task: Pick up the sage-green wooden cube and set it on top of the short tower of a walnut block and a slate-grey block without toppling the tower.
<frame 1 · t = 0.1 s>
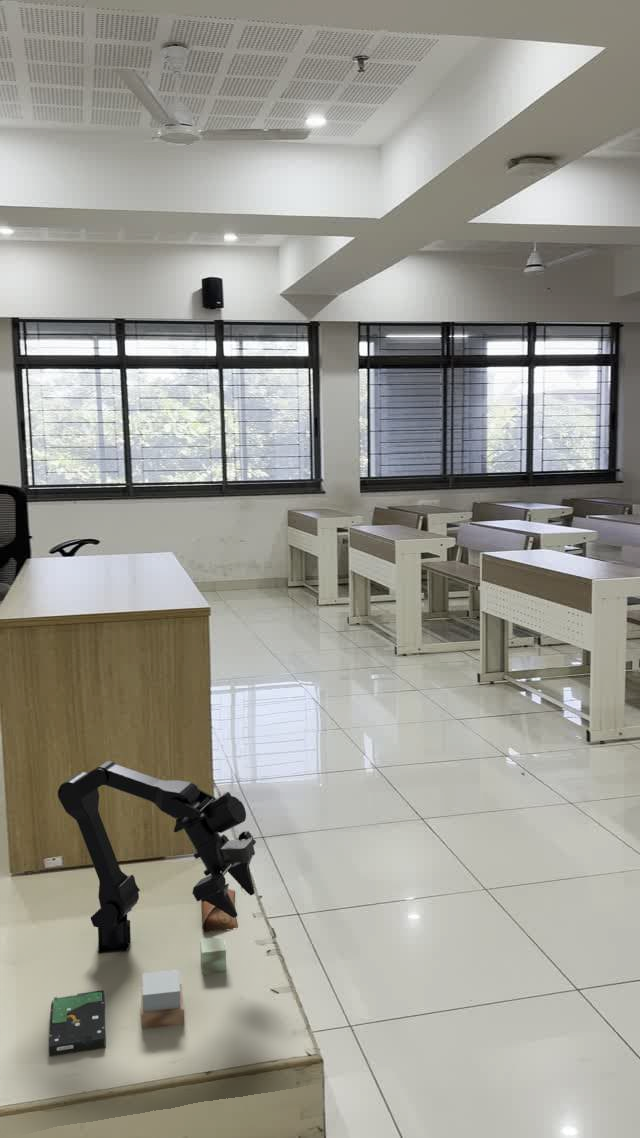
hand: (244, 905, 193), 15 cm above the table, tool tilted 30°, fingers open, 9 cm apart
sunglasses case: (219, 912, 219), on the table
tower top: (161, 998, 181), point 3 cm above the table, touching tower base
disk drive: (78, 1030, 178), on the table
green cube: (213, 966, 197), on the table
tower base: (162, 1015, 182), on the table, touching tower top
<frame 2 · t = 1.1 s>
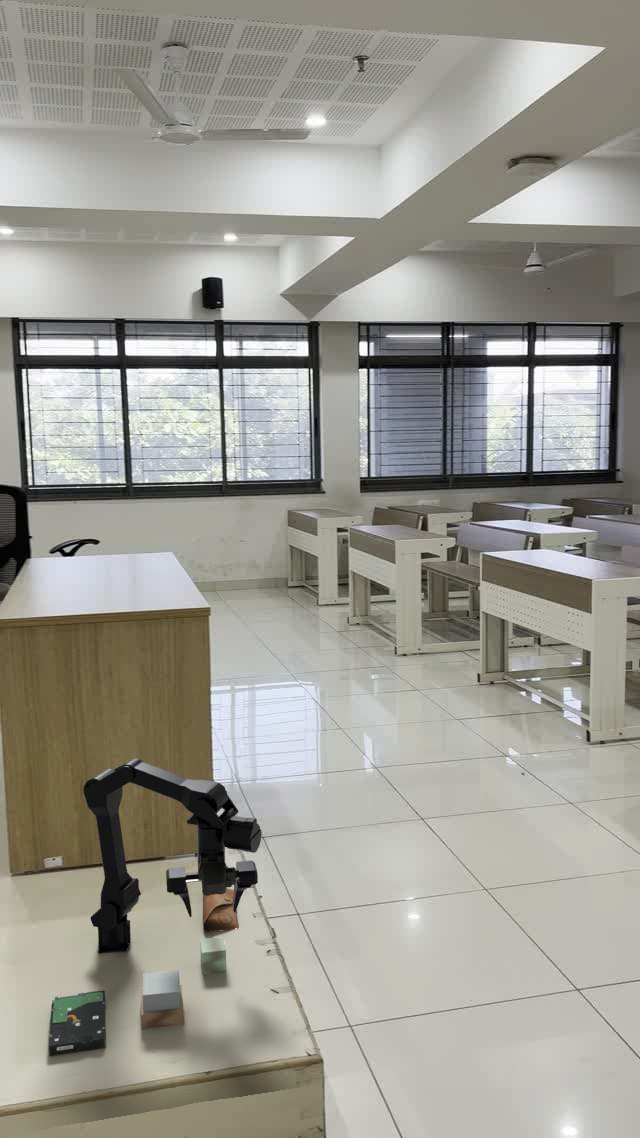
hand: (212, 913, 195), 12 cm above the table, tool pointing down, fingers open, 9 cm apart
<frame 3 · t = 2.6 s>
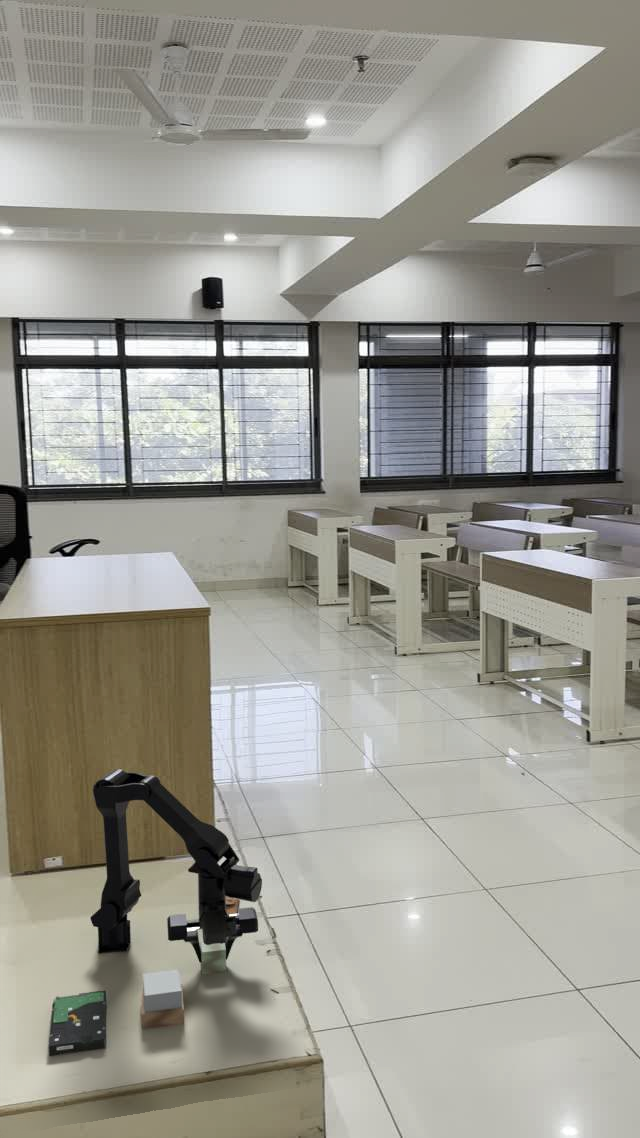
hand: (213, 960, 197), 1 cm above the table, tool pointing down, fingers closed on green cube, 5 cm apart
tower top: (162, 998, 181), point 3 cm above the table
green cube: (213, 965, 197), on the table, touching gripper
tower base: (162, 1015, 182), on the table
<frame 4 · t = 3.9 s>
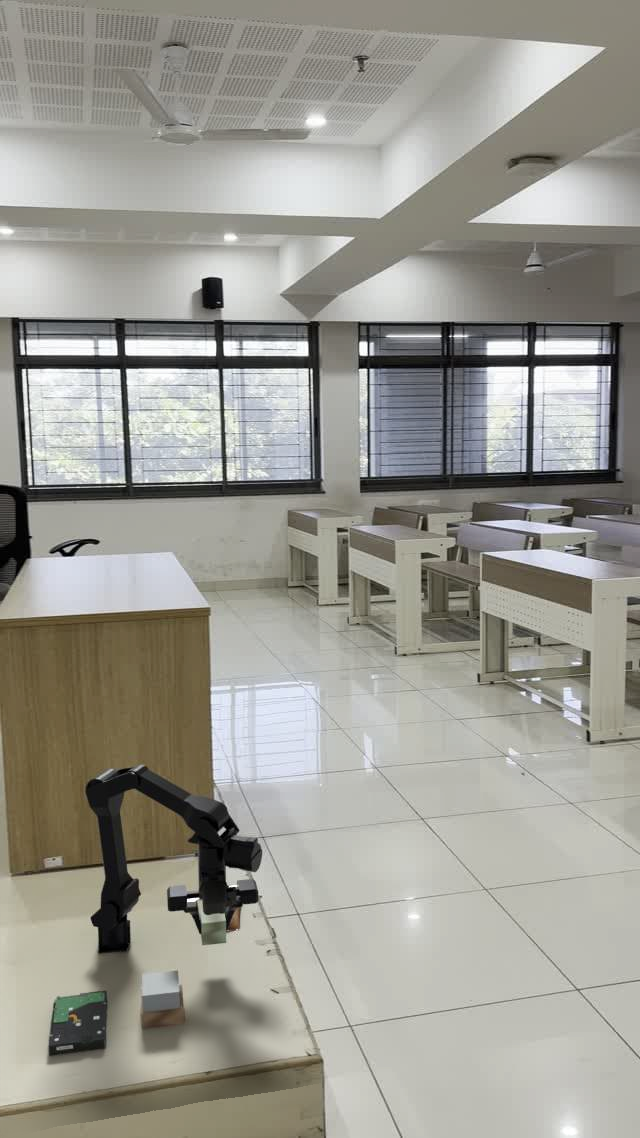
hand: (213, 932, 196), 8 cm above the table, tool pointing down, fingers closed on green cube, 5 cm apart
tower top: (161, 999, 181), point 3 cm above the table, touching tower base
green cube: (213, 937, 196), point 7 cm above the table, touching gripper
tower base: (162, 1015, 182), on the table, touching tower top
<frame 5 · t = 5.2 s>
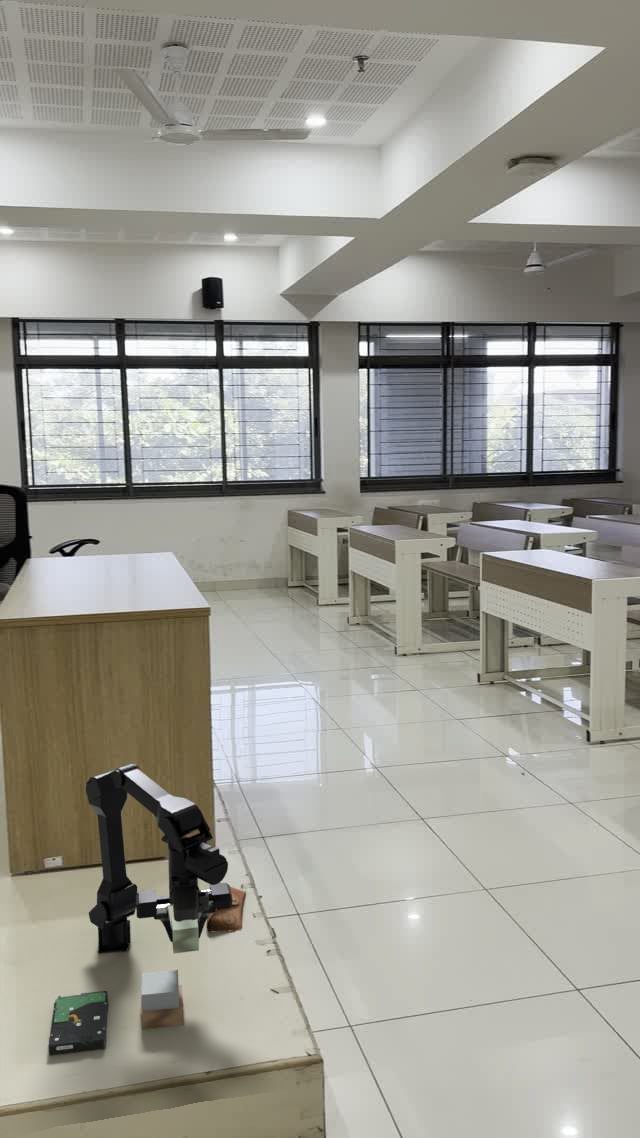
hand: (185, 939, 186), 12 cm above the table, tool pointing down, fingers closed on green cube, 5 cm apart
tower top: (160, 998, 181), point 3 cm above the table
green cube: (185, 945, 187), point 10 cm above the table, touching gripper
tower base: (162, 1015, 182), on the table
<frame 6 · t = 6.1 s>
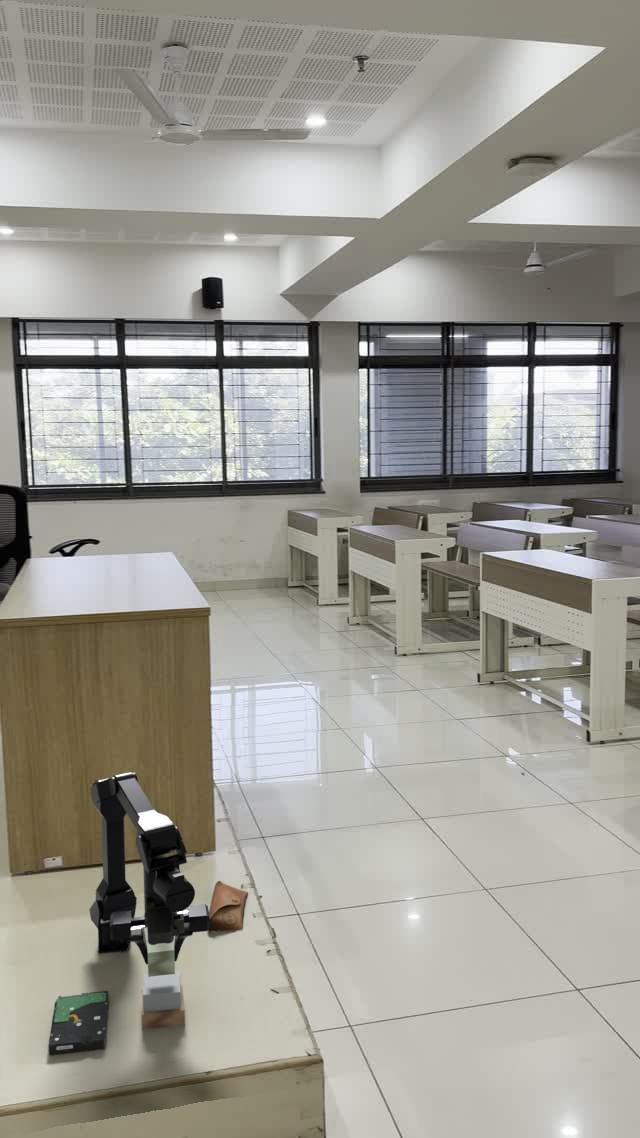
hand: (161, 961, 180), 11 cm above the table, tool pointing down, fingers closed on green cube, 5 cm apart
tower top: (162, 998, 181), point 3 cm above the table, touching tower base
green cube: (161, 967, 180), point 10 cm above the table, touching gripper
tower base: (163, 1015, 182), on the table, touching tower top
when the fingers open (9 cm above the table, at t = 6.7 s): green cube drops 2 cm, resting on tower top.
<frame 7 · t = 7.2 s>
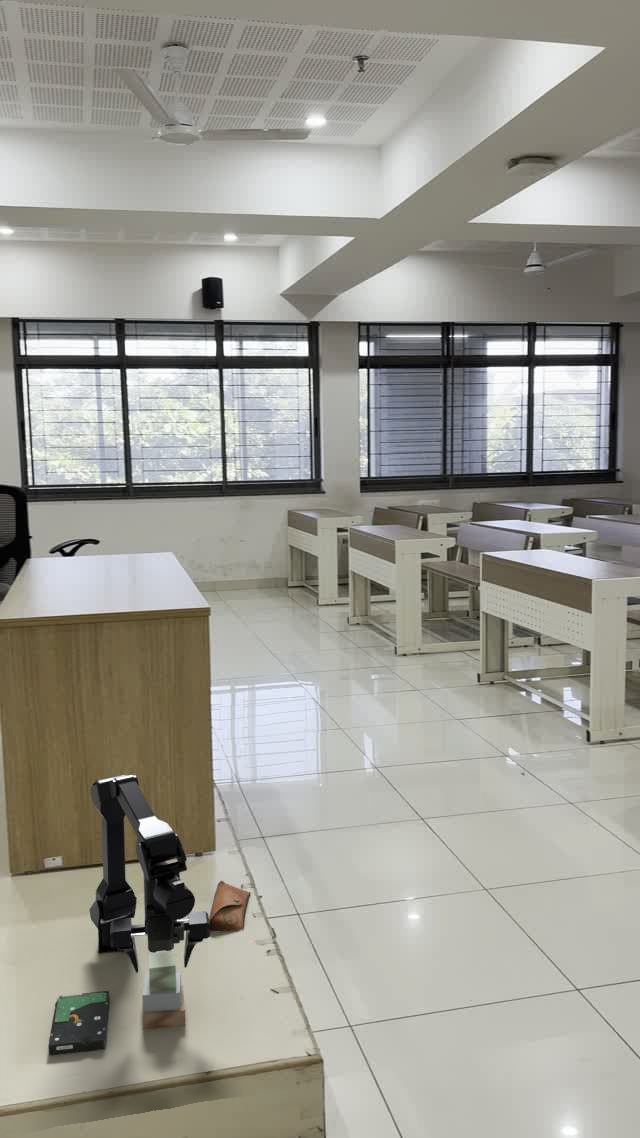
hand: (161, 969, 180), 9 cm above the table, tool pointing down, fingers open, 9 cm apart
tower top: (162, 999, 181), point 3 cm above the table, touching green cube, tower base
green cube: (162, 982, 181), point 7 cm above the table, touching tower top
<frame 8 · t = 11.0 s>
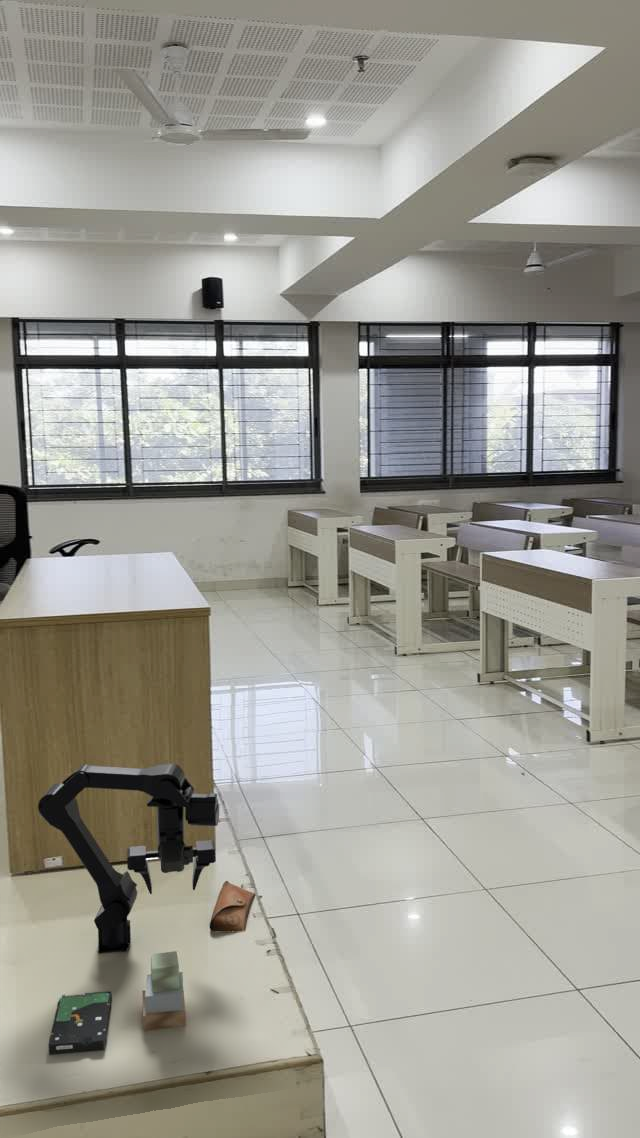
hand: (172, 891, 202), 13 cm above the table, tool pointing down, fingers open, 9 cm apart
tower top: (164, 1000, 181), point 3 cm above the table, touching tower base
green cube: (165, 983, 180), point 7 cm above the table
at the end: green cube 0.2 cm off-centre on the tower top, point 3.5 cm above the tower top's base; tower top 0.3 cm off-centre on the tower base, point 3.5 cm above the tower base's base; the gripper is holding nothing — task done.
